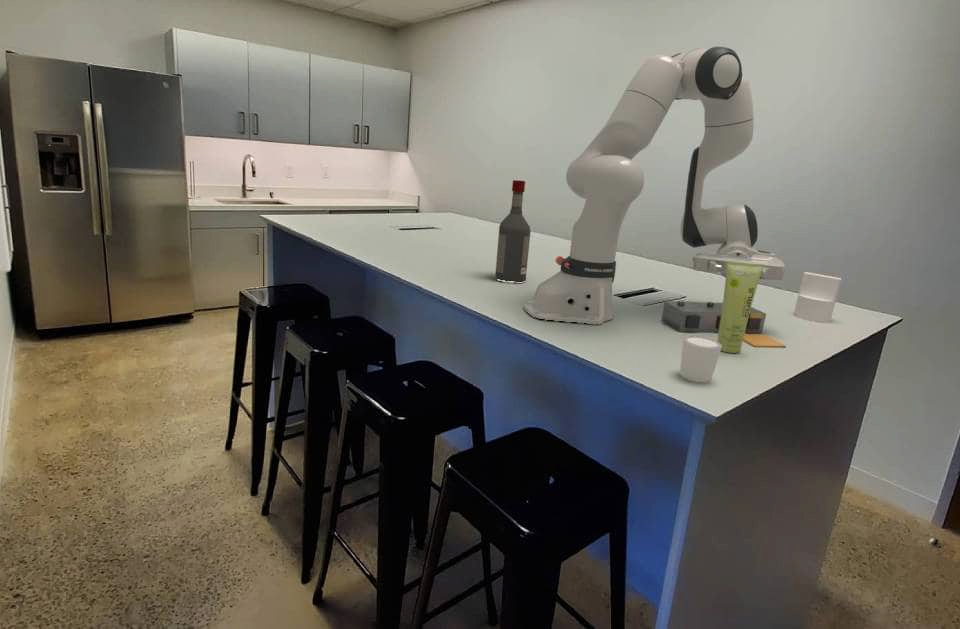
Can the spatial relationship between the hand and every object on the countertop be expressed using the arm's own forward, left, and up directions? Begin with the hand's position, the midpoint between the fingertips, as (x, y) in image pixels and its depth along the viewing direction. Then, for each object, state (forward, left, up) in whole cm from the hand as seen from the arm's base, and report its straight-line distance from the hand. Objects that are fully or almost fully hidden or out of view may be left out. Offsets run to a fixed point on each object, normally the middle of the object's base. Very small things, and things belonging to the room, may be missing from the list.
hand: (739, 272), depth 129 cm
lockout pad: (+6, -5, -15) cm, 17 cm away
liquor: (-42, +49, -15) cm, 67 cm away
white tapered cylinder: (-22, -26, -15) cm, 37 cm away
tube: (-6, -11, -15) cm, 20 cm away
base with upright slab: (+37, +16, -16) cm, 43 cm away
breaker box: (0, +6, -15) cm, 16 cm away
